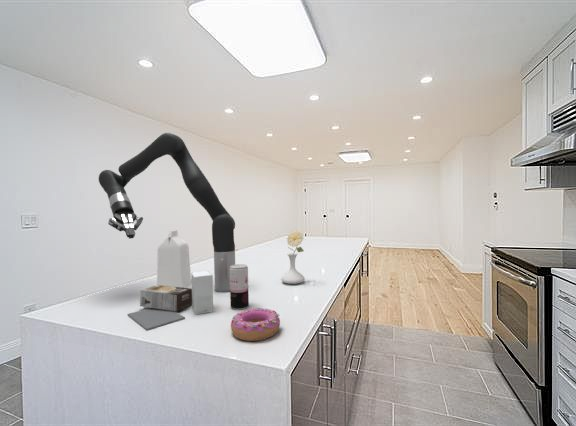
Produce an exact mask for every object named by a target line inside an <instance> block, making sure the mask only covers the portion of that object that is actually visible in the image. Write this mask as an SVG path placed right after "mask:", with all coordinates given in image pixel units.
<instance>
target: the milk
mask: <svg viewBox="0 0 576 426" xmlns="http://www.w3.org/2000/svg"><path fill="white" fill-rule="evenodd" d="M189 249H190V246H189V244H188V243H187V242H186V241H185V240H184V239H183V238H182V237H180V236H179V233H178V230H176V229H175V230H174V229H172V230H169V231H168V236H167V237H166V238H165V239H164V240H163V242H162V243H161V244H160V245H159V246H158V248H157V259H156V260H157V261H156V262H157V263H156V267H157V269H156V274H157V275H156V285H163V286H173V287H181V288H185V287H186V286H187V285H189V284H191V283H192V281H191V273H192V272H191V271H192V270H191V262H190V261H191V260H190V259H191V258H190V250H189ZM188 283H189V284H188ZM184 286H185V287H184Z"/></svg>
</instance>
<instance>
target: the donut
mask: <svg viewBox="0 0 576 426" xmlns="http://www.w3.org/2000/svg"><path fill="white" fill-rule="evenodd" d="M280 324H281V320H280V314H278V313H277V311H276V310H272V309H269V308H263V307H256V308H245V309H243V310H242V311H240V312H238V313H236V314H235V315H233V316H232V319H231V322H230V330H231V332H232V334H233V335H234V337H236V338H237V339H239V340H243V341H246V342H247V341H248V342H254V341H255V342H256V341H262V340H266V339H268V338H271V337H273V336H274V335H275V334H277V332H278V331H279V328H280V326H281V325H280Z"/></svg>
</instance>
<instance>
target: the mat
mask: <svg viewBox="0 0 576 426" xmlns="http://www.w3.org/2000/svg"><path fill="white" fill-rule="evenodd" d="M127 316H128V317H129V318H130V319H131V320H133V321H134V322H135V323H136V324H138V325H139V326H140V327H142V328H143V329H144V330H145V331H150V330H152V329H153V330H154V329H157V328H159V327H164V326H166V325H169V324H173V323H176V322H179V321H182V320H185V319H186V317H185V316H184V315H182V314H180V313H179V312H176V311H169V310H162V309H155V308H149V307H148V308H145V309H142V310H138V311H134V312H130V313H129V312H128V313H127Z"/></svg>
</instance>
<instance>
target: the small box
mask: <svg viewBox="0 0 576 426" xmlns="http://www.w3.org/2000/svg"><path fill="white" fill-rule="evenodd" d="M213 280H214V279H213V274H212V272H210V270H205V271H204V270H203V271H194V272H191V289H192V306H191V308H192V310H193V312H194V315H201V314H207V313H212V312H214V287H213V283H214V282H213Z"/></svg>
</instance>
